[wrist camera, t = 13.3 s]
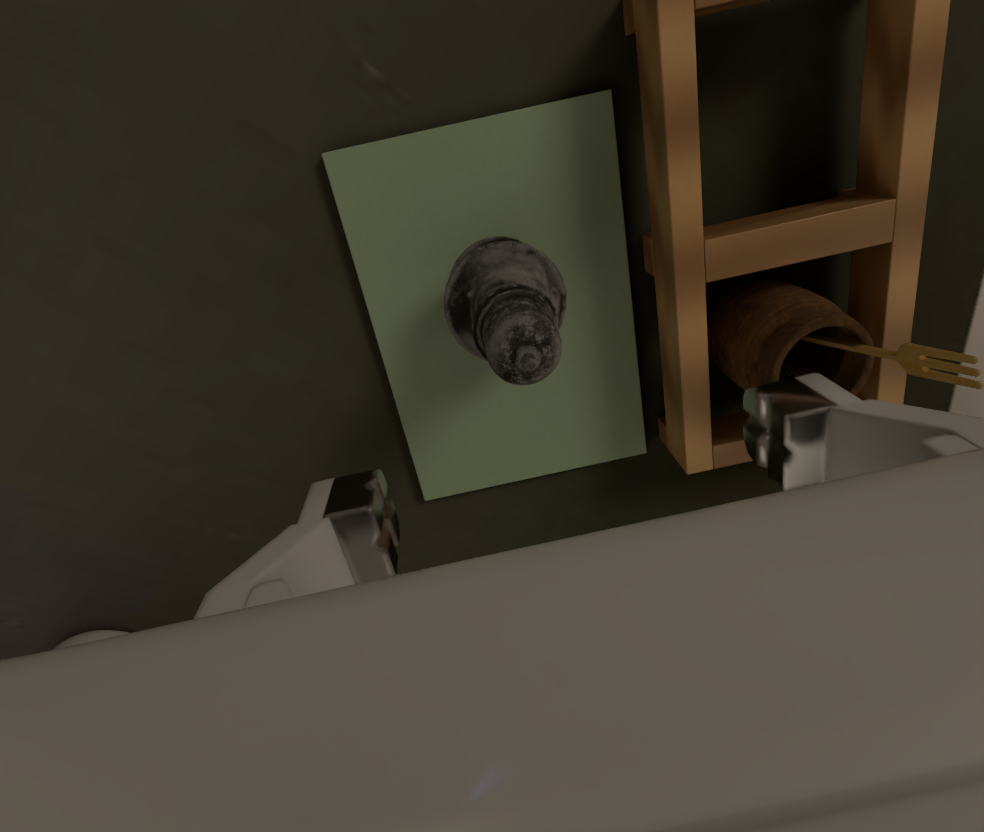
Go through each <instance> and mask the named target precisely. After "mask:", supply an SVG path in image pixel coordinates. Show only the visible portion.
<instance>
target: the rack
mask: <svg viewBox="0 0 984 832" xmlns="http://www.w3.org/2000/svg"><path fill="white" fill-rule="evenodd" d="M767 1H772V0H622V4H623V16H624V28H625V36H630V35H634V34H636V45H637V58H638V71H639V84H640V97H641V109H642V122H643V135H644V148H645V160H646V173H647V186H648V199H649V211H650V224H651V232H649V233H644V234H642V240H643V252H644V264H645V271H646V272H648V273H649V274H651V275H653V276H655V288H656V301H657V313H658V326H659V339H660V352H661V365H662V377H663V390H664V403H665V416H663V417H659V418H658V426H659V438H660V439H661V441H662V442H663V443H664V445H665V446H666V447H667V449H668V450H669V451H670V452H671V454H672V455H673V456H674V458H675V459H676V460H677V462H678V463H679V464H680V466H681V467H682V468H683V470H684V471H685V472H686V474H693V473H698V472H702V471H707V470H711V469H717V468H721V467H726V466H730V465H735V464H740V463H744V462H749V461H753V460H752V459H751V457H750V455H749V454H748V452H747V449H746V446H745V442H744V434H743V425H744V424H745V422H746V421H747V419H748V418H749V416H750V415H749V414H748V413H747V412H746V411H744V412H739V413H735V414H730V415H725V416H721V417H716V418H712V419H711V410H710V385H709V361H708V336H707V312H706V287H705V282H706V283H708V282H712V281H717V280H721V279H726V278H730V277H735V276H739V275H744V274H749V273H753V272H758V271H762V270H767V269H771V268H776V267H781V266H785V265H790V264H794V263H799V262H803V261H808V260H812V259H817V258H822V257H826V256H831V255H835V254H840V253H844V252H849V251H852V253H851V268H850V283H849V298H848V313H847V315H849V316H850V317H852V318H853V319H855V320H856V321H857V322H858V323H860V324H861V325H862V326H863V327H864V328H865V329H866V330H867V332H868V333H869V335H870V336H871V338H872V341H873V345H874V347H876V348H881V349H886V350H891V351H896V352H897V351H898V349H899V347H900V346H901V345H903V344H904V343H910V341H911V332H912V324H913V315H914V307H915V298H916V290H917V281H918V273H919V264H920V256H921V247H922V239H923V230H924V221H925V213H926V204H927V196H928V187H929V179H930V170H931V162H932V153H933V145H934V136H935V128H936V119H937V110H938V102H939V93H940V85H941V76H942V68H943V59H944V51H945V42H946V34H947V25H948V17H949V8H950V0H868V13H867V28H866V43H865V58H864V73H863V88H862V103H861V118H860V133H859V148H858V163H857V178H856V187H854V188H849V189H845V190H840V191H838V192H837V197H836V198H832V199H827V200H823V201H818V202H814V203H809V204H804V205H800V206H795V207H791V208H786V209H782V210H777V211H773V212H768V213H764V214H759V215H755V216H750V217H745V218H741V219H736V220H732V221H727V222H723V223H718V224H714V225H709V226H705V227H703V214H702V190H701V165H700V141H699V116H698V92H697V68H696V43H695V19H694V18H695V17H700V16H704V15H709V14H713V13H718V12H722V11H727V10H731V9H736V8H740V7H745V6H749V5H754V4H758V3H763V2H767ZM906 375H907V372H906V371H905V370H904V369H903V368H902V366H901V365H900V364H899V363H898V362H896V361H895V360H891V359H886V358H881V357H877V356H875V357H874V364H873V368H872V371H871V374H870V376H869V378H868V380H867V382H866V383H865V385H864V386H863V388H862V389H861V390H860V392H859V393H858V394H857V395H856V397H858V398H859V399H861V400H867V399H873V400H879V401H885V402H891V403H897V404H902V405H903V401H904V392H905V384H906Z"/></svg>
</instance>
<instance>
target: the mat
mask: <svg viewBox="0 0 984 832" xmlns="http://www.w3.org/2000/svg"><path fill="white" fill-rule="evenodd" d="M322 158H323V162H324V165H325V168H326V172H327V175H328V178H329V182H330V185H331V188H332V192H333V195H334V198H335V202H336V205H337V208H338V212H339V215H340V219H341V222H342V225H343V229H344V232H345V235H346V239H347V242H348V245H349V249H350V252H351V255H352V259H353V262H354V265H355V269H356V272H357V275H358V279H359V282H360V285H361V289H362V292H363V296H364V299H365V302H366V306H367V309H368V312H369V316H370V319H371V322H372V326H373V329H374V332H375V336H376V339H377V342H378V346H379V349H380V352H381V356H382V359H383V363H384V366H385V369H386V373H387V376H388V379H389V383H390V386H391V389H392V393H393V396H394V399H395V403H396V406H397V409H398V413H399V416H400V419H401V423H402V426H403V430H404V433H405V436H406V440H407V443H408V446H409V450H410V453H411V456H412V460H413V463H414V466H415V470H416V473H417V476H418V480H419V483H420V486H421V490H422V493H423V497H424V500H425V501H428V500H432V499H437V498H441V497H446V496H451V495H455V494H460V493H464V492H469V491H474V490H478V489H483V488H487V487H492V486H497V485H501V484H506V483H510V482H515V481H520V480H524V479H529V478H533V477H538V476H543V475H547V474H552V473H556V472H561V471H566V470H570V469H575V468H579V467H584V466H589V465H593V464H598V463H603V462H607V461H612V460H616V459H621V458H626V457H630V456H635V455H639V454H644V453H646V452H647V451H646V440H645V430H644V420H643V409H642V399H641V389H640V378H639V368H638V358H637V347H636V337H635V327H634V316H633V306H632V296H631V285H630V275H629V265H628V254H627V244H626V234H625V223H624V213H623V203H622V193H621V182H620V172H619V162H618V151H617V141H616V131H615V120H614V110H613V100H612V90H611V89H609V90H604V91H600V92H595V93H591V94H586V95H582V96H577V97H573V98H568V99H564V100H559V101H555V102H550V103H546V104H541V105H537V106H532V107H528V108H523V109H519V110H514V111H510V112H505V113H501V114H496V115H492V116H487V117H483V118H478V119H474V120H469V121H465V122H460V123H456V124H451V125H447V126H442V127H438V128H433V129H429V130H424V131H420V132H415V133H411V134H406V135H401V136H397V137H392V138H388V139H383V140H379V141H374V142H370V143H365V144H361V145H356V146H352V147H347V148H343V149H338V150H334V151H329V152H325V153H322ZM498 236H505V237H509V238H514V239H517V240H519V241H521V242H523V243H525V244H529V245H531V246H533V247H534V248H536V249H538V250H540V251H542V252H543V253H544V254H545V255H546V256H547V257H548V258H549V259H550V260H552V261H553V262H554V263H555V265H556V267H557V269H558V270H559V272H560V274H561V275H562V277H563V281H564V285H565V288H566V292H567V307H566V312H565V316H564V320H563V323H562V325H561V327H560V329H559V333H560V336H561V340H562V352H561V356H560V360H559V362H558V364H557V366H556V368H555V369H554V371H553V372H552V373H551V374H550V375H549V376H548V377H546V378H545V379H543V380H541V381H540V382H537V383H534V384H531V385H523V386H520V385H514V384H510V383H508V382H506V381H504V380H502V379H501V378H500V377H499V376H498V375H496V374H495V373H494V371H493V370H492V368H491V367H490V365H489V362H488V361H485V360H483V359H480V358H478V357H476V356H474V355H472V354H470V353H469V352H468V351H467V350H465V349H464V348H463V347H462V346H461V345H459V343H458V342H457V341H456V339H455V338H454V336H453V335H452V333H451V332H450V330H449V327H448V324H447V321H446V319H445V313H444V301H443V300H444V295H445V289H446V284H447V282H448V280H449V278H450V274H451V270H452V268H453V266H454V264H455V262H456V260H457V259H458V257H459V256H460V255H461V254H462V253H463V252H464V250H465V249H467V248H468V247H469V246H471V245H472V244H474V243H475V242H477V241H480V240H483V239H485V238H488V237H498Z"/></svg>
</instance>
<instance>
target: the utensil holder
mask: <svg viewBox="0 0 984 832" xmlns="http://www.w3.org/2000/svg"><path fill="white" fill-rule="evenodd" d="M707 336H708V353H709V356H710V358H711V359H712V361H713V362H714V364H715V365H716V366H717V367H718V369H719V370H720V371H721V372H723V373H724V374H725V375H726V376H727V377H728V378H729V379H731V380H732V381H733V382H734V383H736V384H737V385H738V386H739V387H741V388H742V389H743V390H744V391H745V390H747V389H749V388H752V387H757V386H761V385H765V384H769V383H773V382H777V381H781V380H785V379H789V378H795V377H799V376H802V375H806V374H810V373H819V374H821V375H822V376H824V377H826V378H827V379H829V380H830V381H832V382H834V383H835V384H837V385H838V386H840V387H842V388H843V389H845V390H846V391H848V392H850V393H851V394H853V395H855V396H856V395H857V394H858V393H859V392H860V390H861V389H862V388H863V386H864V385H865V383H866V382H867V380H868V378H869V376H870V374H871V371H872V368H873V364H874V357H875V356H877V357H881V358H886V359H891V360H895V361H896V362H898V363H899V364H900V365H901V366H902V368H903V369H904V370H905V371H906V372H907V373H908V374H911V375H915V376H919V377H924V378H929V379H933V380H938V381H943V382H948V383H952V384H957V385H962V386H967V387H971V388H976V389H981V388H983V387H984V386H983V383H981V382H979V381H974V380H971V379H966V378H963V377H958V376H954V375H950V374H946V373H942V372H938V371H934V370H930V369H929V368H934V369H939V370H944V371H950V372H955V373H960V374H965V375H970V376H975V377H977V376H980V375H981V372H980V371H979V370H978V369H974V368H970V367H965V366H961V365H956V364H952V363H948V362H943V361H939V360H934V359H930V358H927V357H925V356H931V357H937V358H942V359H948V360H954V361H959V362H965V363H971V364H976V363H977V362H978V358H976V357H975V356H970V355H965V354H961V353H956V352H951V351H946V350H941V349H936V348H932V347H927V346H922V345H917V344H912V343H904V344H903V345H901V346H900V347H899V349H898V351H897V352H896V351H891V350H886V349H881V348H876V347H874V345H873V341H872V338H871V336H870V335H869V333H868V332H867V330H866V329H865V328H864V327H863V326H862V325H861V324H860V323H858V322H857V321H856V320H855V319H853V318H852V317H850V316H849V315H847V314H845V313H844V312H843V311H842V310H841V309H840V308H839V307H838V306H836V305H835V304H834V303H832V302H831V301H829V300H828V299H826V298H824V297H822V296H820V295H818V294H815V293H813V292H811V291H808V290H806V289H803V288H801V287H798V286H796V285H793V284H790V283H787V282H784V281H780V280H775V279H758V280H753V281H749V282H746V283H743V284H741V285H739V286H737V287H736V288H734V289H733V290H731V291H730V292H728V293H727V294H726V295H725V296H724V297H723V298H722V299H721V300H720V301H719V302H718V304H717V305H716V306H715V308H714V309H713V311H712V313H711V315H710V317H709V320H708V323H707ZM924 355H925V356H924ZM927 367H929V368H927Z"/></svg>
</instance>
